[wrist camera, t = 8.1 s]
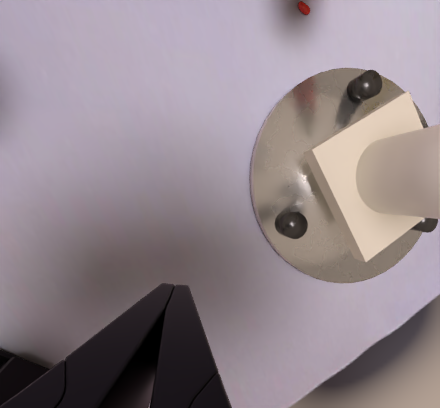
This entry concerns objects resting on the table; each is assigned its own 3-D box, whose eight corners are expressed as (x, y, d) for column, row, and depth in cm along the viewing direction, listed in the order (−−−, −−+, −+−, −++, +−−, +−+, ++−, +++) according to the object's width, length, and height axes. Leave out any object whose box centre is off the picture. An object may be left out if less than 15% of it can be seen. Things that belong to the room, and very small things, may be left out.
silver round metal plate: (310, 318, 23) (327, 334, 21) (208, 133, 20) (214, 125, 17) (451, 213, 26) (481, 215, 24) (382, 39, 23) (409, 20, 21)
